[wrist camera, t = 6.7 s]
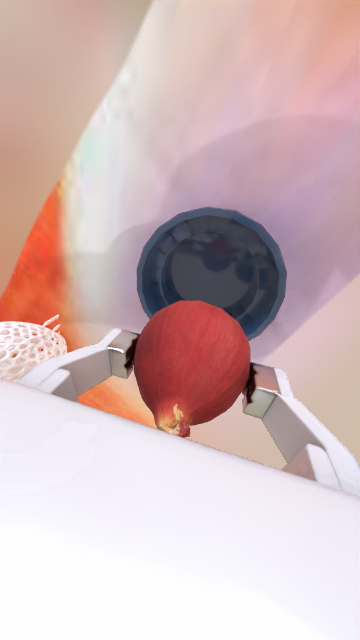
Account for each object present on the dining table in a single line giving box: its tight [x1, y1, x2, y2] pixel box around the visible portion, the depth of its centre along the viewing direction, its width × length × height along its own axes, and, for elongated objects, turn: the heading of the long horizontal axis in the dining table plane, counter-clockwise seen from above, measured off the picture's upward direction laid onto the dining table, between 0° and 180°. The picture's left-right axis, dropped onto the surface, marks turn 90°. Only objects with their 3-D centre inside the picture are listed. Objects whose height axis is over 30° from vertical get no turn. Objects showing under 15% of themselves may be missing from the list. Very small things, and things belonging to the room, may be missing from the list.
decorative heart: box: [0, 315, 67, 382], centre depth 26 cm, size 18×11×17 cm, turn 157°
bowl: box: [137, 207, 287, 341], centre depth 20 cm, size 14×14×5 cm
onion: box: [134, 301, 250, 438], centre depth 9 cm, size 6×6×8 cm
